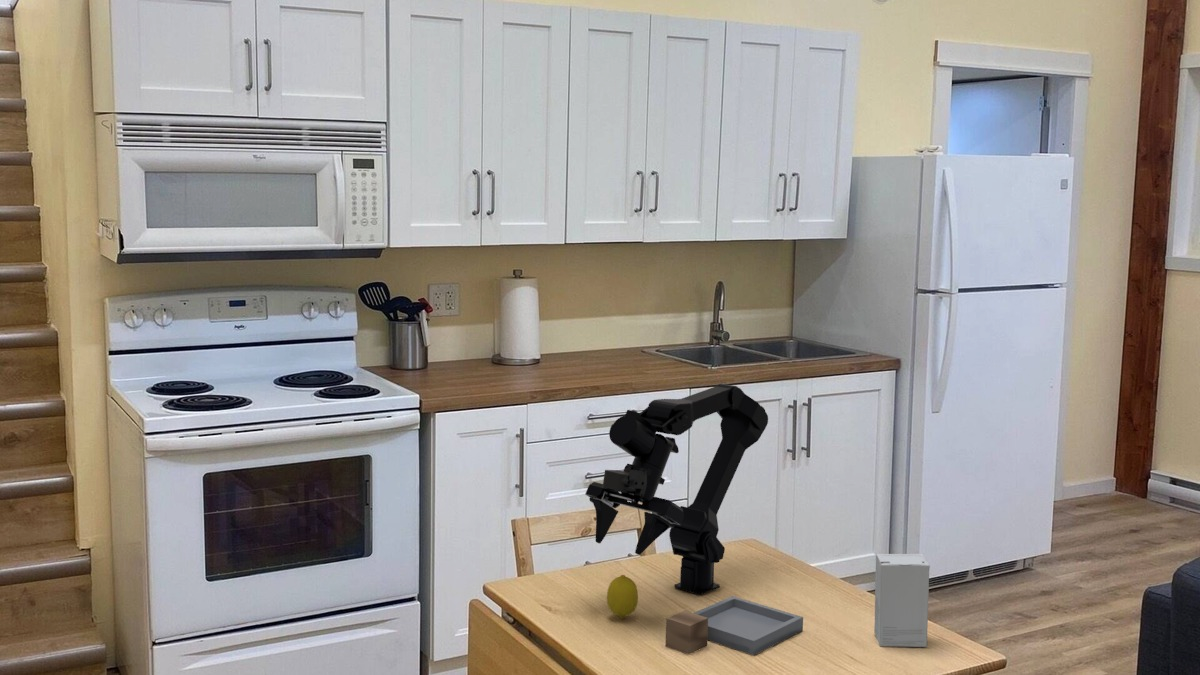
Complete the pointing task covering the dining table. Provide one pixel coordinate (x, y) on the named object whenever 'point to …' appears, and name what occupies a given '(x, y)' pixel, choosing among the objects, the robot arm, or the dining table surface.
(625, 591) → the lemon
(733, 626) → the dish
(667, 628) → the walnut block
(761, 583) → the dining table surface
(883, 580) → the skincare box
